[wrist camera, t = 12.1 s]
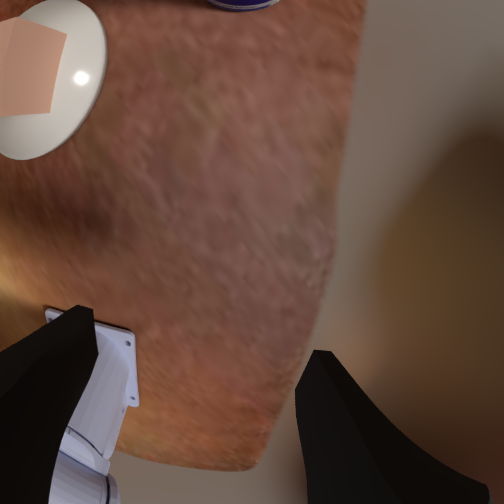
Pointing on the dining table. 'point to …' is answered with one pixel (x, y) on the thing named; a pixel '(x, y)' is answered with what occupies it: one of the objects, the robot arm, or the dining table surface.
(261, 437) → the dining table surface
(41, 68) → the cube
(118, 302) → the dining table surface
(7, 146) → the saucer
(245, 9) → the energy drink
